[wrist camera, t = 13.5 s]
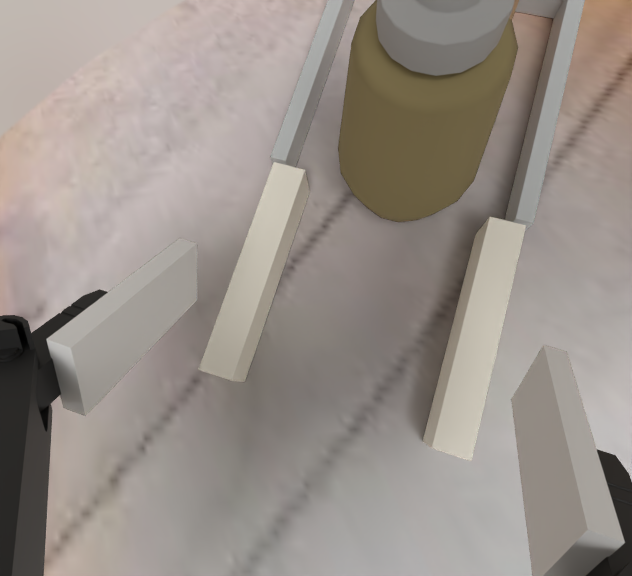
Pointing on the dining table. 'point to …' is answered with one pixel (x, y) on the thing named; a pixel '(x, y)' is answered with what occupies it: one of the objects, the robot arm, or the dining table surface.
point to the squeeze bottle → (422, 101)
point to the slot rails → (466, 333)
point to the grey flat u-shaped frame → (566, 9)
